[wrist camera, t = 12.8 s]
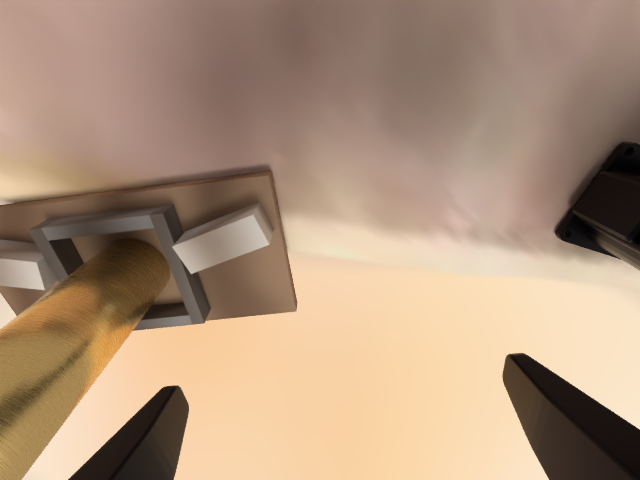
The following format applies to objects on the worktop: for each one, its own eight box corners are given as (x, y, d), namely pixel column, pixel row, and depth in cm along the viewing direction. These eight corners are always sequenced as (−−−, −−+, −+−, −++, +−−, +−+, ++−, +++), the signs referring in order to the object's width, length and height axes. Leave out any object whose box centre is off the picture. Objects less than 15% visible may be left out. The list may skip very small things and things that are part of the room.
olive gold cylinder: (181, 262, 21) (19, 474, 10) (153, 304, 23) (-11, 528, 11) (115, 225, 20) (-152, 420, 9) (92, 273, 21) (-158, 488, 10)
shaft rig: (271, 170, 19) (263, 185, 17) (297, 302, 24) (294, 331, 21) (-38, 210, 20) (-92, 229, 18) (43, 329, 25) (10, 359, 22)
